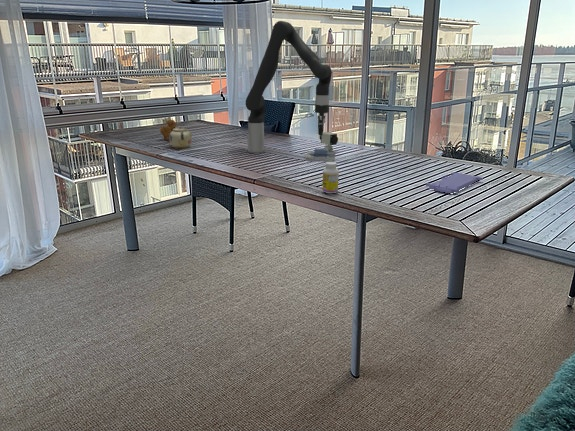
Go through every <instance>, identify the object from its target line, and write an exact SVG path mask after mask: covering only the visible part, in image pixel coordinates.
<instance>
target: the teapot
mask: <svg viewBox="0 0 575 431" xmlns="http://www.w3.org/2000/svg"><path fill="white" fill-rule="evenodd" d="M169 139H170V141H169V143H170V145H171V146H172V147H173V149H176V150H177V149H178V150H185V149H188V148H189V147H190V146H191V144H192V141H193V135H192V133H191V132H190V131H189V130H188V128H186V127H185V128H184V127H183V126H182V125H178V128H177V127H175V129H173V131H172V132H171V133H170V136H169Z"/></svg>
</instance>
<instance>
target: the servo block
mask: <svg viewBox="0 0 575 431" xmlns="http://www.w3.org/2000/svg"><path fill="white" fill-rule="evenodd" d="M311 155H313V156H327V155H331V153H327V149H324V148H320V147H319V148H316V147H315V148H314V152H311Z"/></svg>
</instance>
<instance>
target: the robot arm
mask: <svg viewBox="0 0 575 431" xmlns="http://www.w3.org/2000/svg"><path fill="white" fill-rule="evenodd" d="M284 41H286V42H287V43H288V44H290V46H292V48H294V50H295V51H296V53H297V55H298V56H299V57H300V59H301V60H302V62H304V63H305V65H306V66H308V68H309V69H310V71H311V73H312V74H313V75H314V77H315V78H316V79H318V83H317V84H316V86H315V97H314V98H315V99H314V112H315V113H316V114H319V115H317V124H318V125H317V127H318V135H319V136H320V135H322V134H323V132H325V131H324V127H325V123H326V120H325V119H326V115H325V114H328V113H329V111H330V85H331V80H332V75H333V74H332V69H331V68H332V67H330V65H328V64H322V63H321V61H320V58H319V56H318V55H317V54H316V53H315V52H314V50H312V49H311V48H310V47H309V46H308V44H306V43H305V42H304V40H303V39H302V38H301V36H300V35H299V33H298V32H297V31H296V29H295V28H294V26H293V25H292V24H291V23H290V22H288V21H286V20H285V21H284V20H278V21H277V22H275V24H273V27H272V30H271V34H270V37H269V42H268V44H267V47H266V50H265V52H264V55H263V57H262V60H261V63H260V64H259V67H258V71H257V73H256V76H255V78H254V81H253V84H252V86H251V88H250V91H249V92H248V95H247V97H246V98H245V107H246V109H247V110H248V111H250V113H249V116H248V118H247V129H248V135H247V152H248V153H253V154H254V153H257V154H258V153H264V152H265V117H266V100H265V98H264V96H263V95H264V93H265V90H266V88H267V87H268V86H269V85H270V83H271V82H272V80H273V78H274V76H275V74H276V72H277V69H278V66H279V59H280V58H279V57H280V51H281V50H280V49H281V47H282V44H283V43H284Z"/></svg>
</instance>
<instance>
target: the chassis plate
mask: <svg viewBox="0 0 575 431" xmlns="http://www.w3.org/2000/svg"><path fill="white" fill-rule="evenodd" d="M311 152H314V151H313V150H311V151H310V150H309V151H308V150H307V152H306V155H305V156H304V161H307V162H308V161H309V162H310V161H312V162H313V161H314V162H335V160H336V151H332V152H327V153H331V155H327V156H313V155H311Z"/></svg>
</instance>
